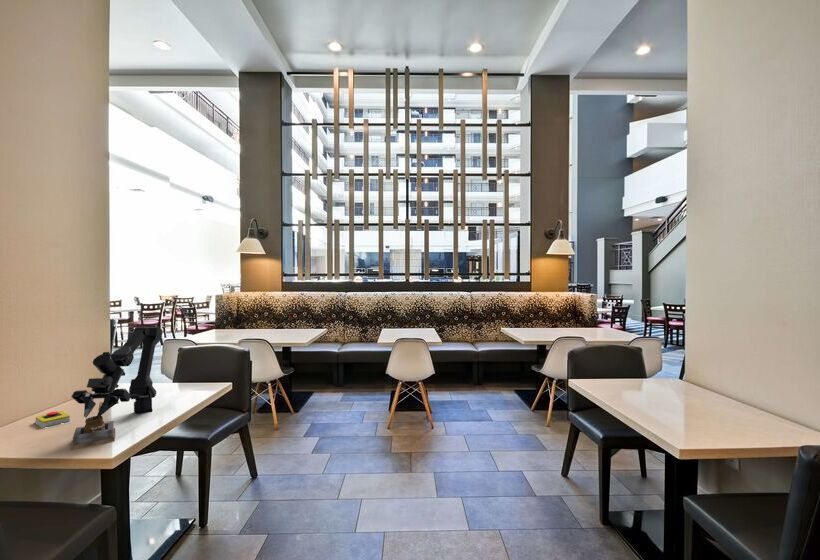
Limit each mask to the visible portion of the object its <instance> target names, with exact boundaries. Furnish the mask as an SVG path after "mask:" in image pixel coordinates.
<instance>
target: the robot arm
mask: <svg viewBox="0 0 820 560" xmlns="http://www.w3.org/2000/svg"><path fill="white" fill-rule="evenodd" d="M162 336H163V329H161V327H159V326H136V327H135V328H134V329H133V332H132V334H131V335H130V336H129V338H127V340H126V341H125V343H124V344H123V345H122V346H121V347H120V348H118V349H116V350H114V351H113V352H112V353H110V352H109V351H103V352H102V354H99V355H97V356H96V357H95V358H94V359H93V361H92V364H93V366H94V367H95V368H96V369H97V371H99V372H100V373H101V374H103V375H102V377H101V378H99V377H97V378H89V379H88V381H87V384H86V388H90V389H91V392H89V391H87V390H86V389H85V390H84V389H83V390H82V389H80V390H75V391H73V393H72V394H71V397H70V398H72V399H73V400H74V401H75V402H76V403H78V404H81V405H82V404H84V410H83V411H84V412H83V417H84V418H85V419H87V418H88V416H89V414H90V415H91V413H92V412H93V410H94V408H95V406H96V405H97V403H96V402H95V401H94V400H96V399H98V400H99V399H100V400H101V399H103V404H102V405H101V408H100V410H98V412H97V415H96V416H98V417H100V416H102V415H104V414H105V413H106V412H107V411H109V410H110V409H111V408H113V407H114V406H115V405H118V404H119V403H120V402H121V403H125V402H126V403H127V402H130V399H131V400H135V401H133V412H134V413H135V415H137V414H138V415H139V414H143V413H150V412H153V398H156V396H157V390H156V389H155V388H154V387H153V383H154V382H153V380H152V378H151V371H152V365H153V362H154V361H153V359H154V354H155V348H156V346H157V345H158V343H159V342H160V341H161V338H162ZM140 344H142V349H141V355H140V359H139V365H138V369H137V370H138V371H137V375H136V377H135V378H133V379H131V380H130V386H129V388H128V390H127V389H126V388H119V387H120V385H119V381H120V379H121V378H122V377H124V376H126V371H124V369H123V367H129V366H130V365H132V363H133V360H134V359H135V357H134V354H135V352H136V350H137V349H138V347H139V346H140ZM92 392H93V393H92ZM87 409H90V410H87ZM85 411H86V412H85ZM87 412H88V413H87ZM90 412H91V413H90ZM84 414H85V415H86V416H85V415H84Z"/></svg>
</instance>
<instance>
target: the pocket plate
mask: <svg viewBox="0 0 820 560" xmlns="http://www.w3.org/2000/svg"><path fill="white" fill-rule="evenodd" d="M104 425H105V430H102V431H96V432H91V433H85V425H84V426H77V427H75V430H74V433H73V436H72V442H71V445H70V449H71V450H77V449H81V448H85V447H89V446H90V447H91V446H96V445H102V444H105V443H106V444H107V443H110V442H111V443H112V442H115V437H116V428H115V427H114V420H112V421H107V422H104Z"/></svg>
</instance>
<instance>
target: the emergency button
mask: <svg viewBox="0 0 820 560" xmlns="http://www.w3.org/2000/svg"><path fill="white" fill-rule="evenodd" d="M34 422H35V423H37V424H38V425H39V427H40V426H41V427H42V428H41V427H40V428H41V429H43V430H46V429H45V427H49V428H48V429H52V428H55V426H56V427H60V426H62V425H61V423H64V424H65V425H69V424H72V423H73V421H72V420H71V414H68V413H66V412H65V411H64V410H61V411H51V412H48V413H46V414H41V415H36V416H35V421H34ZM71 422H72V423H71ZM35 423H34V424H35ZM68 423H69V424H68ZM37 424H36V425H37ZM38 425H37V426H38ZM59 425H60V426H59ZM51 427H52V428H51Z"/></svg>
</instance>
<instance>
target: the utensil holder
mask: <svg viewBox="0 0 820 560" xmlns="http://www.w3.org/2000/svg"><path fill="white" fill-rule="evenodd" d="M103 402H104V401H103ZM103 402H101V401H99V405H98V411H99V410H100V408H101V406H102V404H103ZM87 410H90V409H87ZM85 412H86V411H85ZM87 413H88V412H87ZM91 413H92V411H91V412H90V414H89V415H91ZM84 415H85V414H84V413H83V416H84ZM89 415H88V416H87V417H86V418H85V421H84V423H85V424H84V426H85V433H91V432H96V431H102V430H105V425H104V423H105V421H104V418H103V416H102V415H101V416H100V417H98V416H97V415H95V416H94V415H91V416H89ZM85 416H86V415H85Z"/></svg>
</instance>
